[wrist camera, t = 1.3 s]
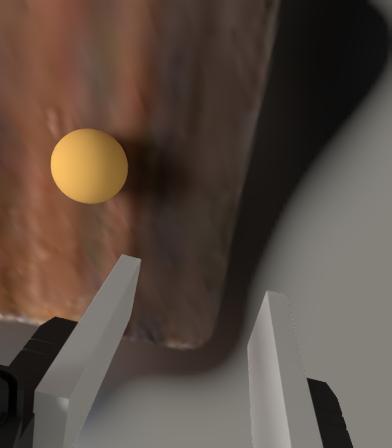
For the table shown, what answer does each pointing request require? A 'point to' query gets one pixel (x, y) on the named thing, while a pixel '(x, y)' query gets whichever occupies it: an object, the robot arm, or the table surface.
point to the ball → (89, 166)
